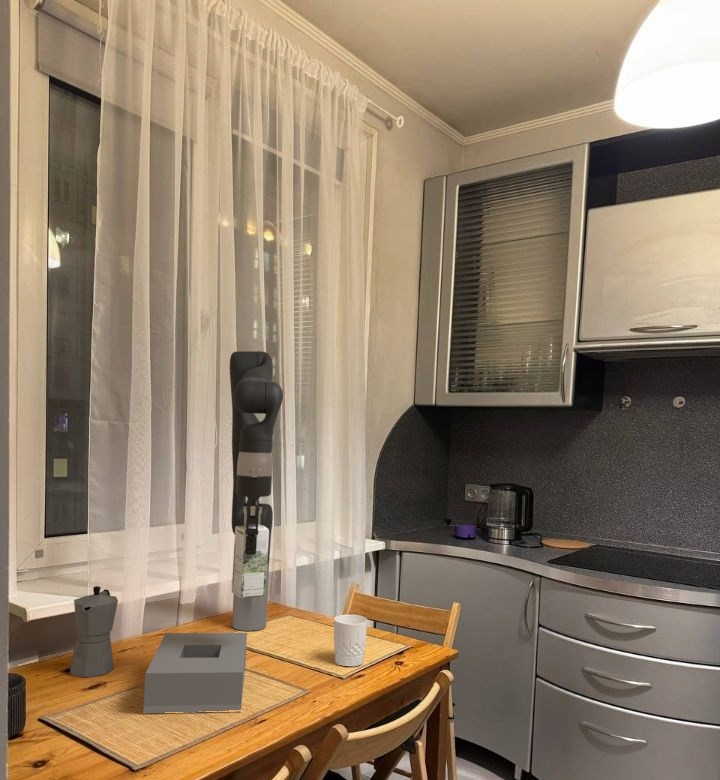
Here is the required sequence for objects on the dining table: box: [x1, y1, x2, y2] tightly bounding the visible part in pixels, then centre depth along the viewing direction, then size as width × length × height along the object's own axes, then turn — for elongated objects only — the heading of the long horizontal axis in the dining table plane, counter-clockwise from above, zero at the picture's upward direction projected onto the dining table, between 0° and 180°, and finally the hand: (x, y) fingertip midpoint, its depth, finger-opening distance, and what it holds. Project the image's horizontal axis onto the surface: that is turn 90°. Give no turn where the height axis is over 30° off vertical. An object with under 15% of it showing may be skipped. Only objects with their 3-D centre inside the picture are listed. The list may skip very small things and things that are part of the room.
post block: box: [142, 632, 248, 714], centre depth 135 cm, size 24×18×8 cm
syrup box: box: [231, 525, 269, 598], centre depth 140 cm, size 6×6×14 cm
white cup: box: [333, 614, 368, 667], centre depth 154 cm, size 8×8×10 cm
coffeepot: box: [69, 585, 119, 678], centre depth 144 cm, size 15×9×18 cm, turn 5°
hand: (250, 550), depth 140 cm, fingers closed on syrup box, 7 cm apart
